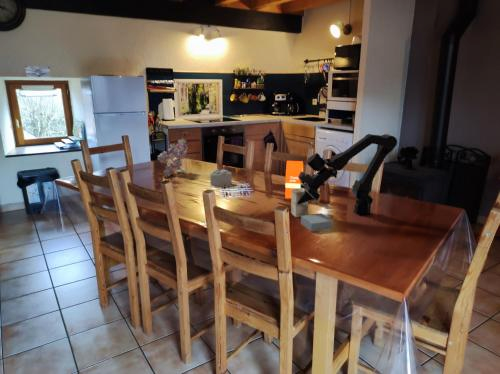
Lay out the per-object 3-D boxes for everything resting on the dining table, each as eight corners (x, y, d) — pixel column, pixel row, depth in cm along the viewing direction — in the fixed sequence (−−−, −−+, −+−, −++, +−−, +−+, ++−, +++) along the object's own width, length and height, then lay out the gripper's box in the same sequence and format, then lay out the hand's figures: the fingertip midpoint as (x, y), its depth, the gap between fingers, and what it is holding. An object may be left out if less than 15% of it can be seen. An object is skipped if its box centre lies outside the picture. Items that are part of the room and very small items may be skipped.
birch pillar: (302, 211, 178) (303, 187, 174) (307, 215, 172) (308, 191, 169) (291, 212, 176) (291, 188, 173) (295, 217, 171) (296, 192, 167)
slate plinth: (320, 221, 167) (321, 213, 166) (332, 229, 158) (332, 220, 157) (300, 224, 164) (301, 215, 163) (311, 232, 155) (311, 223, 154)
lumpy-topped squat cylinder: (233, 184, 228) (233, 170, 226) (215, 187, 221) (215, 173, 218) (224, 180, 236) (224, 167, 234) (207, 184, 229) (206, 170, 227)
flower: (155, 168, 263) (152, 140, 246) (185, 162, 271) (184, 134, 255) (162, 186, 250) (160, 157, 233) (194, 179, 258) (194, 151, 242)
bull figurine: (314, 206, 186) (315, 191, 183) (303, 198, 198) (304, 184, 196) (322, 205, 187) (323, 190, 184) (311, 198, 199) (311, 183, 197)
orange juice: (301, 199, 198) (302, 162, 192) (285, 198, 199) (285, 162, 194) (302, 194, 205) (303, 159, 200) (286, 194, 207) (287, 159, 201)
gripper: (305, 161, 177) (281, 184, 179) (313, 170, 159) (288, 195, 161) (320, 177, 179) (297, 199, 182) (330, 187, 162) (305, 212, 164)
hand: (296, 201), depth 172 cm, fingers closed on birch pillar, 7 cm apart
